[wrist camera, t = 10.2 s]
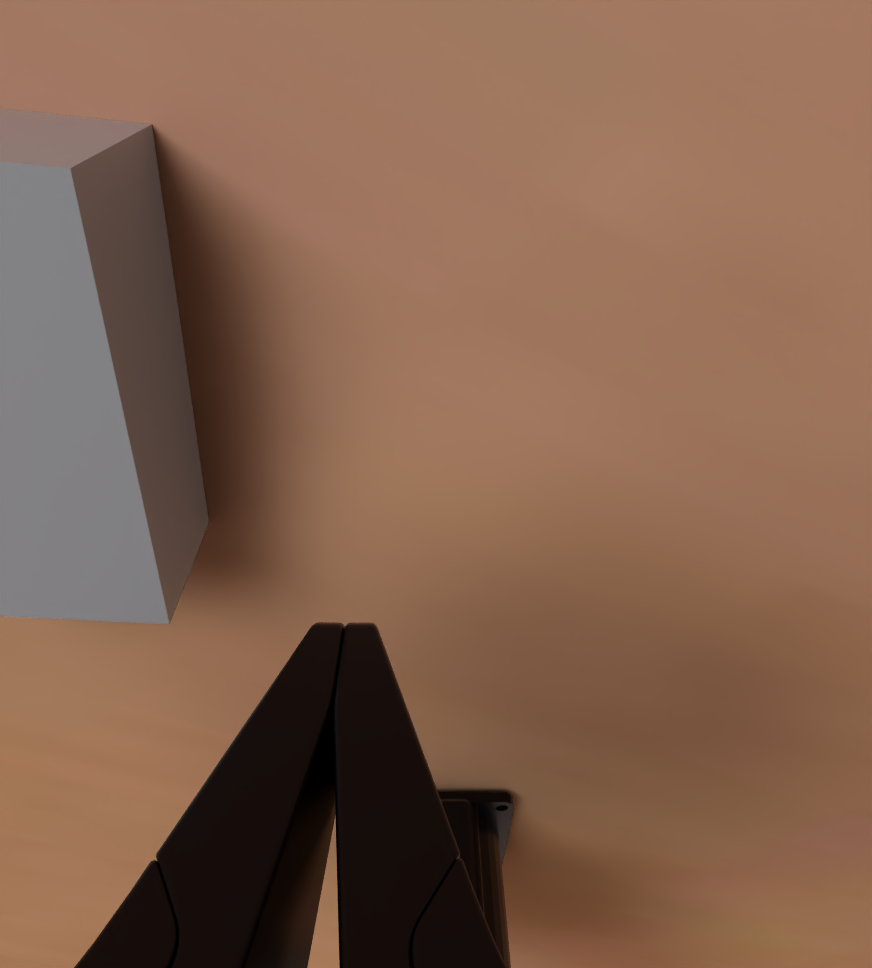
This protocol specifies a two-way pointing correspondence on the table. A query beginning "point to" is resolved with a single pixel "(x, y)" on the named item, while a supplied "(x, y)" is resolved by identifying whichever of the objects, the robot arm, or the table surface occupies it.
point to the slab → (91, 378)
